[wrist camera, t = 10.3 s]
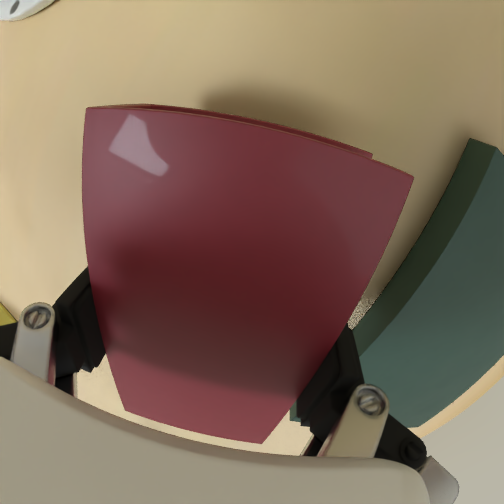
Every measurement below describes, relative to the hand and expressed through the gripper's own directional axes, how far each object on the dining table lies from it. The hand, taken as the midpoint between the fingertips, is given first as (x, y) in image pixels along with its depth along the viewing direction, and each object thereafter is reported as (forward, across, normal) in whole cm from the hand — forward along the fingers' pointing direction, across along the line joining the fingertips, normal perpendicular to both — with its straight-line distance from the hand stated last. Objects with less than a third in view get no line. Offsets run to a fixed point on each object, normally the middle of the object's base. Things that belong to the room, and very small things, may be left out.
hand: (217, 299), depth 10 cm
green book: (+3, -15, +2) cm, 15 cm away
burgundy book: (0, 0, 0) cm, 0 cm away
